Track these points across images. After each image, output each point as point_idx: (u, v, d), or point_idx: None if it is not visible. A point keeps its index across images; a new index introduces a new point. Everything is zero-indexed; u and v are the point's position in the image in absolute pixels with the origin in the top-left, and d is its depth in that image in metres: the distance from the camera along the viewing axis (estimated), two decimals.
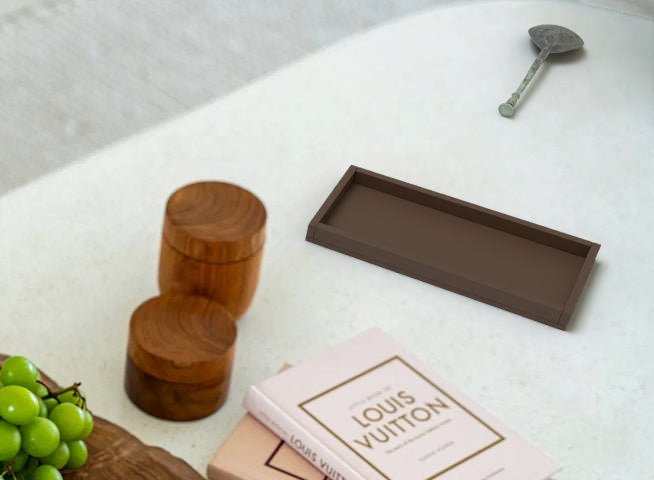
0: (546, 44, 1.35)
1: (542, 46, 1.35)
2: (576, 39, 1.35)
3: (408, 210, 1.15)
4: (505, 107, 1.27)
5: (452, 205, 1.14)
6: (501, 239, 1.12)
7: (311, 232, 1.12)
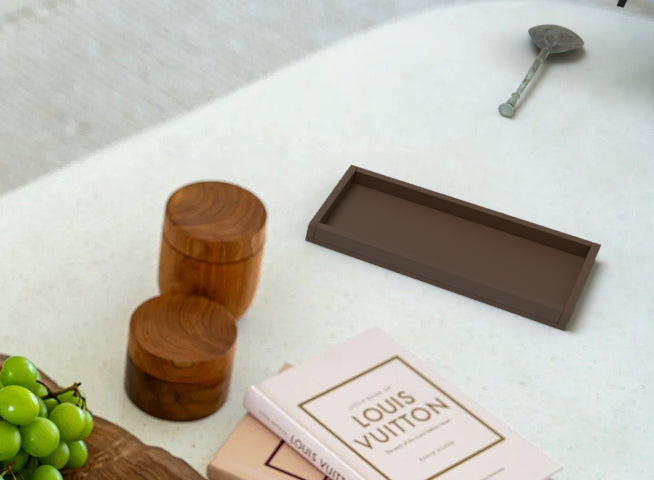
0: (546, 44, 1.35)
1: (542, 46, 1.35)
2: (576, 39, 1.35)
3: (408, 210, 1.15)
4: (505, 107, 1.27)
5: (452, 205, 1.14)
6: (501, 239, 1.12)
7: (311, 232, 1.12)
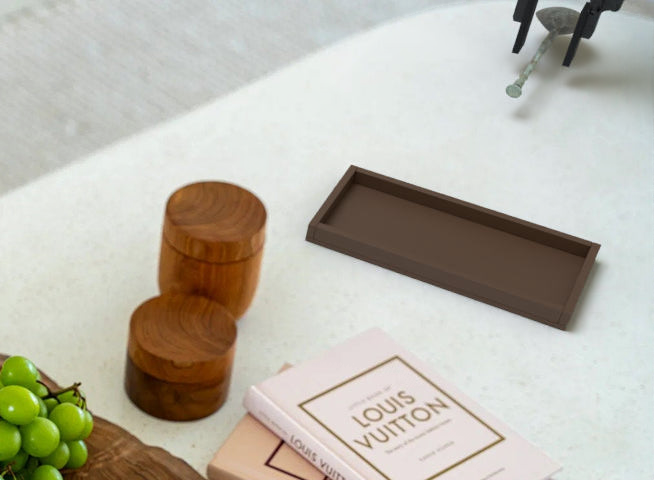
0: (554, 26, 1.33)
1: (550, 28, 1.33)
2: None
3: (408, 210, 1.15)
4: (512, 89, 1.25)
5: (452, 205, 1.14)
6: (501, 239, 1.12)
7: (311, 232, 1.12)
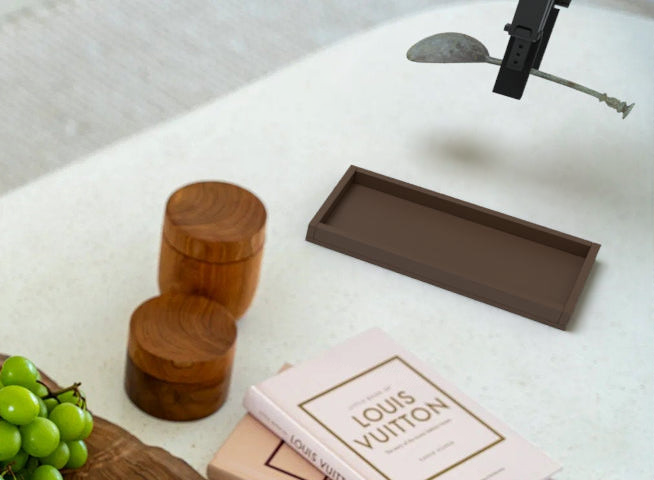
0: (482, 54, 1.13)
1: (483, 59, 1.12)
2: None
3: (408, 210, 1.15)
4: (631, 109, 1.08)
5: (452, 205, 1.14)
6: (501, 239, 1.12)
7: (311, 232, 1.12)
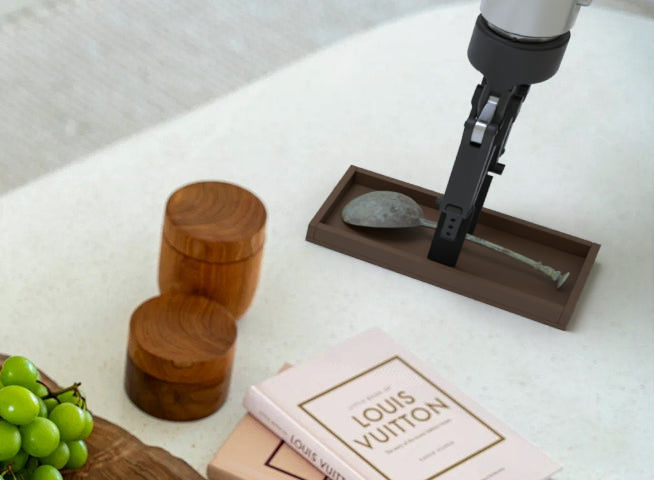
0: (417, 217, 1.11)
1: (418, 222, 1.11)
2: None
3: None
4: (565, 279, 1.06)
5: None
6: (501, 239, 1.12)
7: (311, 232, 1.12)
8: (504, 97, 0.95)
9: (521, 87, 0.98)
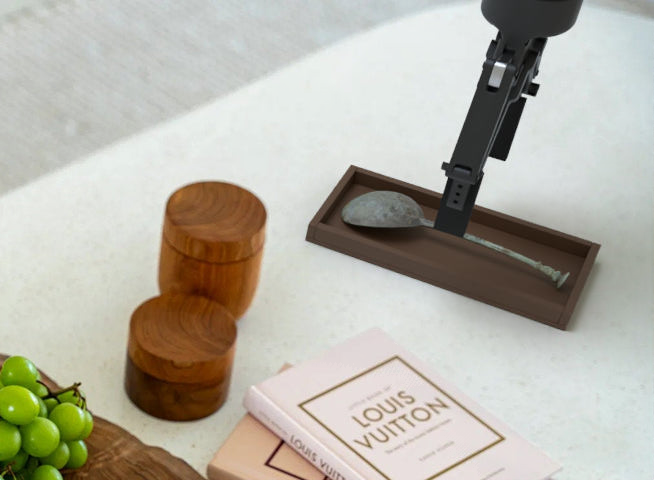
0: (417, 217, 1.11)
1: (418, 222, 1.11)
2: None
3: None
4: (565, 279, 1.06)
5: None
6: (501, 239, 1.12)
7: (311, 232, 1.12)
8: (520, 51, 0.92)
9: (536, 45, 0.96)
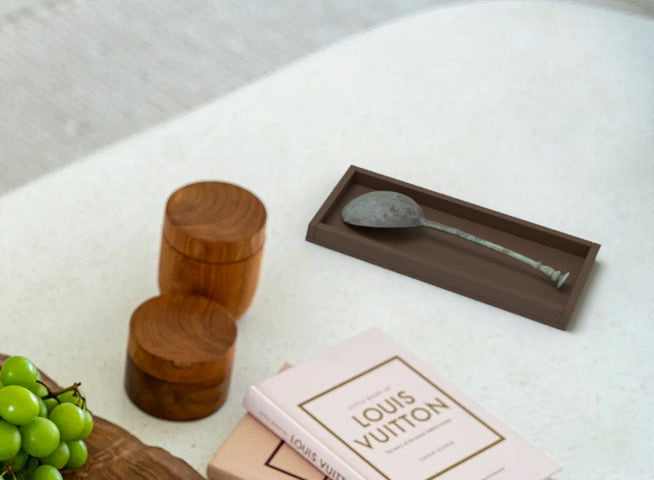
0: (417, 217, 1.11)
1: (418, 222, 1.11)
2: None
3: None
4: (565, 279, 1.06)
5: (452, 205, 1.14)
6: (501, 239, 1.12)
7: (311, 232, 1.12)
8: None
9: None
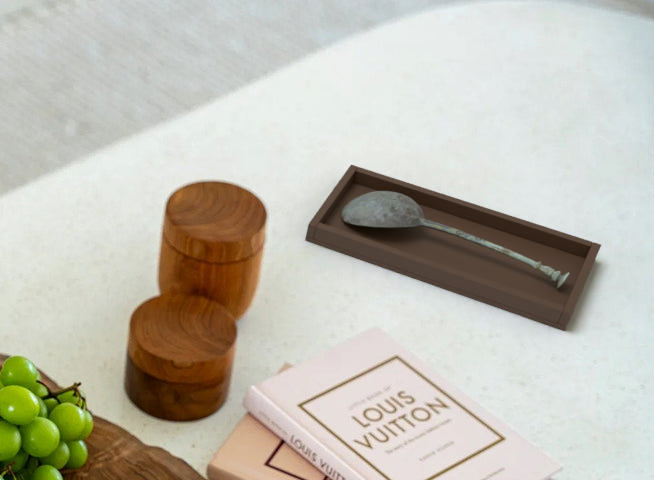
0: (417, 217, 1.11)
1: (418, 222, 1.11)
2: None
3: None
4: (565, 279, 1.06)
5: (452, 205, 1.14)
6: (501, 239, 1.12)
7: (311, 232, 1.12)
8: None
9: None
